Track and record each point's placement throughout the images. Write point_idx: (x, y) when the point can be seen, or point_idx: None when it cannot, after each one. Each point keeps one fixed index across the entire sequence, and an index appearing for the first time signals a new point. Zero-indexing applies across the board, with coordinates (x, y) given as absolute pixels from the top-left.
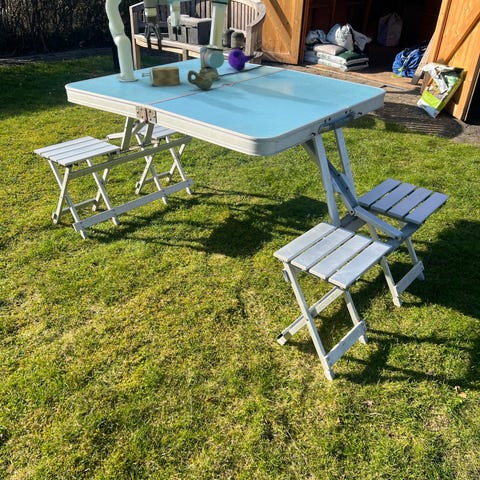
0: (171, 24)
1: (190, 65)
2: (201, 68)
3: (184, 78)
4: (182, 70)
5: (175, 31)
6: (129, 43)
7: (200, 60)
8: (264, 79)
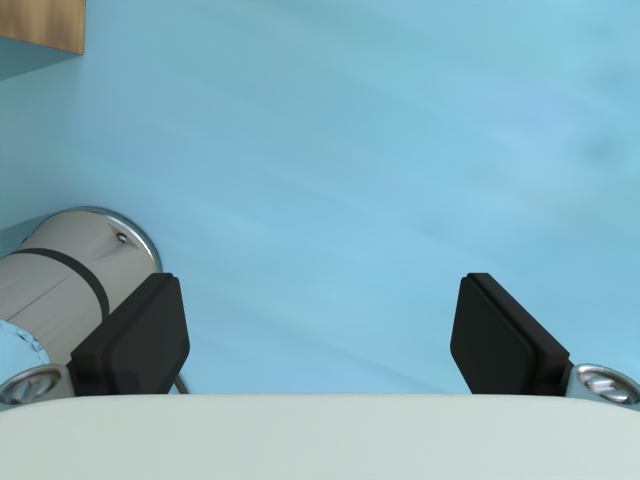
0: (605, 439)
1: (594, 347)
2: (40, 246)
3: (198, 146)
4: (477, 246)
5: (474, 359)
6: None
7: (14, 274)
8: None
